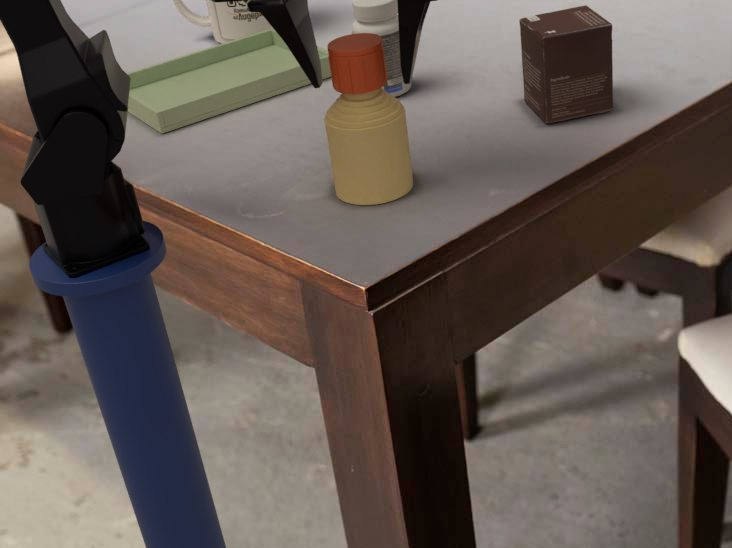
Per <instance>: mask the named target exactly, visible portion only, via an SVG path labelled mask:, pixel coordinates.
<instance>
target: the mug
mask: <svg viewBox="0 0 732 548" xmlns="http://www.w3.org/2000/svg"><path fill="white" fill-rule="evenodd" d="M249 1H250V0H246V1H231V2H213V1H211V0H205V2H206V6H207V12H208V15H200V14H197V13H196V12H194V11H192V10H191V9H190V8H188V7H187V6H186V5H185V3H184V2H183V0H172V2H173V5H174V6H175V8H176V9H177V11H178V12H179V13H180V15H181V16H182V17H183V18H184V19H185V20H187V21H188V22H189V23H191V24H193V25H195V26H198V27H202V28H207V27H208V28H209V27H211V31H212V36H213V39H214V40H215V42H217V43H219V44H223V43H226V42H229V41H233V40H236V39H239V38H242V37H246V36H249V35H252V34H255V33H259V32H262V31H265V30H268V29H272V28H273V27H272V26H271V25H270V24H269V22H268V21H267V20H266V19H265V18H264V16H263V15H262V14H261V13H259V12H249V11H248V8H247V3H248V2H249Z"/></svg>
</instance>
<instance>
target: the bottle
mask: <svg viewBox="0 0 732 548" xmlns="http://www.w3.org/2000/svg"><path fill="white" fill-rule="evenodd" d="M407 124H408V123H407V116H406V107H405V106H404V105H403V104H402V102H401V100H400V99H398V97H394V96H392V95H391V94H389V93H388V92H386V91H384V90H383V89H382V88H379V89H377V90H374V91H371V92H367V93H361V94H344V93H340V95H339V96H338V97H337V98H336V100H335V101H334V102H333V103H332V104H331V106H330V107H329V108H328V109H327V110H326V114H325V116H324V126H325V133H326V138H327V144H328V151H329V157H330V163H331V170H332V177H333V184H334V189H335V195H336V196H337V198H338V199H339V200H340V201H342V202H344V203H347V204H350V205H356V206H375V205H381V204H386V203H390V202H393V201H396V200H398V199H400V198H402V197H404V196H405V195H407V194H409V192H411V190H412V189H413V187H414V186H413V185H414V176H413V168H412V159H411V151H410V150H411V149H410V141H409V134H408V125H407Z"/></svg>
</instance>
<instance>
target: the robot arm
mask: <svg viewBox="0 0 732 548" xmlns="http://www.w3.org/2000/svg"><path fill="white" fill-rule="evenodd" d="M211 1H213V2H231V1H246V0H211ZM437 1H438V0H397V4H398V14H397V15H398V24H399V44H400V64H401V71H402V76H403V81H404V84H410V82H411V83H412V79H413V75H414V70H415V66H416V60H417V56H418V51H419V46H420V41H421V37H422V32H423V28H424V27H423V26H424V23H425V19H426V17H427V14H428V10H429V7H430V4H431V2H437ZM247 8H248V11H249V12H259V13H261V14H262V15H263V16H264V18H265V19H266V20H267V21H268V22H269V24H270V25H271V26H272V27H273V29H274V30H275V31H276V32H277V33H278V35H279V36H280V37H281V38H282V40H283V41H284V42H285V44H286V45H287V47H288V48H289V50H290V51H291V53H292V54H293V56H294V57H295V59H296V60H297V62H298V63H299V65H300V67H301V68H302V70H303V71H304V73H305V74H306V76H307V77H308V79H309V81H310V82H311V85H312V87H313V88H314V89H320V88H321V86H322V85H323V80H322V72H321V63H320V58H319V54H318V49H317V46H318V45H317V42H316V36H315V33H314V28H313V23H312V19H311V14H310V10H309V0H250V1H249V2H248V3H247ZM0 23H1V24H2V26H3V28H4V31H5V32H6V34H7V35H8V38H9V39H10V41H11V43H12V46H13V48H14V50H15V53H16V56H17V60H18V64H19V68H20V73H21V77H22V82H23V86H24V91H25V96H26V99H27V103H28V106H29V108H30V111H31V114H32V118H33V120H34V123H35V125H36V131H35V132H34V134H33V136H32V138H31V139H32V140H31V143H30V147H29V150H28V152H27V153H28V154H27V157H26V159H25V163H24V167H23V170H22V173H21V177H20V185H21V186H22V187H23V189H24V190H25V191H26V193H27V194H28V195H29V196H30V198H31V199H32V202H33V205H34V208H35V211H36V214H37V218H38V220H39V224H40V226H41V230H42V232H43V236H44V239H45V242H47V243H46V244H44V243H43V244H44V245H43V244H42V245H43V249H44V252H45V253H46V254H47V255H48V256H49V257H50V258H51V260H52V261H53V262H54V263H55V264H56V265H57V266H58V267H59V268H60V269H61V270H62V271H63V272H64V273H65V274H66V275H67V276H68V277H69V278H77V277H79V276H82V275H85V274H87V273H90V272H93V271H95V270H98V269H100V268H103V267H106V266H108V265H111V264H114V263H116V262H119V261H121V260H124V259H127V258H129V257H132V256H135V255H137V254H140V253H143V252H145V251H147V250H149V249H150V246H149V242H148V241H147V240H145V239H144V238H143V237H142V236H141V235H142V234H144V232H145V228H144V224H143V221H144V220H143V216H142V213H141V210H140V205H139V203H138V202H139V201H138V198H137V195H136V191H135V187H134V185H133V184H132V183H131V182H130V181H128V180H127V179H126V178H125V177H124V174H123V170H122V168H121V167H120V166H119V165H118V164H116V163H115V162H114V159H115V158H116V157H117V156H118V155H119V154H120V152H121V151H122V148H123V145H124V143H125V141H126V132H127V123H128V122H127V121H128V113H129V112H128V101H129V91H130V81H131V78H130V76H129V75H127V74H126V73H127V72H126V71H125V70H123V68H122V67H121V65H120V63H119V62H118V61H117V58H116V56H115V53H114V50H113V46H112V42H111V40H110V36H109V34H108V31H107V30H105V29H102V30H101V31H99V32H97V33H96V34H94V35H92V36H91V37H89V36H87V35H86V33H85V32H84V31H83V30H82V29H81V28H80V27H79V26H78V25H77V24H76V23H75V22H74V21H73V19H72V18H71V17H70V15H69V14H68V12H67V10H66V8H65V5H64V4H63V2H62V0H0Z"/></svg>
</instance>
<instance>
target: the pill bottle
mask: <svg viewBox="0 0 732 548" xmlns="http://www.w3.org/2000/svg"><path fill="white" fill-rule="evenodd" d="M352 12H353V17H354V18H353V19H355V21H354V22H353V24H352V27H351V34H357V33H372V34H377V35H379V36H381V37H382V40H383V45H384V53H385V61H386V70H387V83H386V84H385V85H384V86H383V87H381V88H382V89H383V90H384V91H386V92H388V93H389V94H391V95H392V96H394V97H395V98H397V97H399V96H402V95H404V94H406V93H407V92H408V91H409V90H411V88H412V81H411V82H410V84H404V81H403V76H402V71H401V64H400V44H399V24H398V4H397V0H352Z"/></svg>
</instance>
